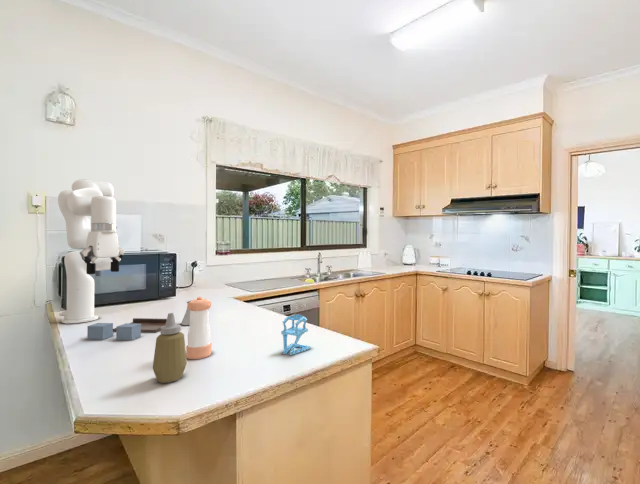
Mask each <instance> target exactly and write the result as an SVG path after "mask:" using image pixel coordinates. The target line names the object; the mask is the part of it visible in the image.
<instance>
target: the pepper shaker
mask: <svg viewBox="0 0 640 484" xmlns="http://www.w3.org/2000/svg"><path fill="white" fill-rule="evenodd" d="M189 301H190V300H189ZM187 307H188V309H189V310H190V325H188V331H187V345H185V349H186V359H188V360H199V359H205V358H207V357H210V356H212V343H211V327H210V322H209V321H210V317H209V316H210V309H211V307H212V302H211V300H210V299H207V298H203V297H202V296H198V297H196V298H194V299H192V301H190V302H189V303H188V305H186V308H187Z"/></svg>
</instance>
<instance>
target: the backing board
mask: <svg viewBox="0 0 640 484" xmlns="http://www.w3.org/2000/svg"><path fill="white" fill-rule="evenodd" d="M166 321H167V318H153V317H152V318H149V317H148V318H146V317H145V318H143V317H133V318H132V322H129V323H130V324H141V333H158V332H161V327H163V326H165V324H166ZM114 332H115V333H116V327H115V328H114V327H113V333H114Z"/></svg>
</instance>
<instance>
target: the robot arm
mask: <svg viewBox="0 0 640 484" xmlns="http://www.w3.org/2000/svg"><path fill="white" fill-rule="evenodd" d="M114 195H115V188H114V186H113V184H112V183H110V182H109V181H105V180H95V179H86V178H84V179H83V178H82V179H81V178H80V179H77V180H74V182H73V183H72V184H71V189H67V190H61V191H60V192H59V194H58V196H57V204H58V208H59V210H60V212H61V215H62V217H63V218H64V221H65V229H66V241H67V245H68V247H69V248H70V249H73V251H70V252H67V253H66V255H64V259H63V260H64V261H63V262H64V267H65V268H64V269H65V273H66V310H63V311H61V312H59V314H58V316H60V317H63V318H62V319H61V323H62V324H67V325H69V324H82V323H87V322H92V321H96V320H98V319H99V315H98V314H95V291H96V290H95V288H96V287H95V285H96V283H95V279H94V278H93V276H92V275H95V274H96V272H97V271H99V272H100V271H108V270H110V272H111V273H118V272H120V262H121V260H122V258H123V257H124V255H125V250H124V249H122V248H121V247H120V243H119V236H118V233H117V229H118V226H117V200H116V198H115V197H114ZM89 217H90V218H89Z"/></svg>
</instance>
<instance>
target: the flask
mask: <svg viewBox="0 0 640 484" xmlns="http://www.w3.org/2000/svg"><path fill="white" fill-rule="evenodd" d="M192 300H193V299H192ZM192 300H191V299H190V300H187V301H186V304H187V305H188V303H189V302H190V301H192ZM187 305H186V310H185V313H184V316H183V318H182V320H181V323H180V325H182V326H189V325H190V310H189V309H188V307H187Z"/></svg>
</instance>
